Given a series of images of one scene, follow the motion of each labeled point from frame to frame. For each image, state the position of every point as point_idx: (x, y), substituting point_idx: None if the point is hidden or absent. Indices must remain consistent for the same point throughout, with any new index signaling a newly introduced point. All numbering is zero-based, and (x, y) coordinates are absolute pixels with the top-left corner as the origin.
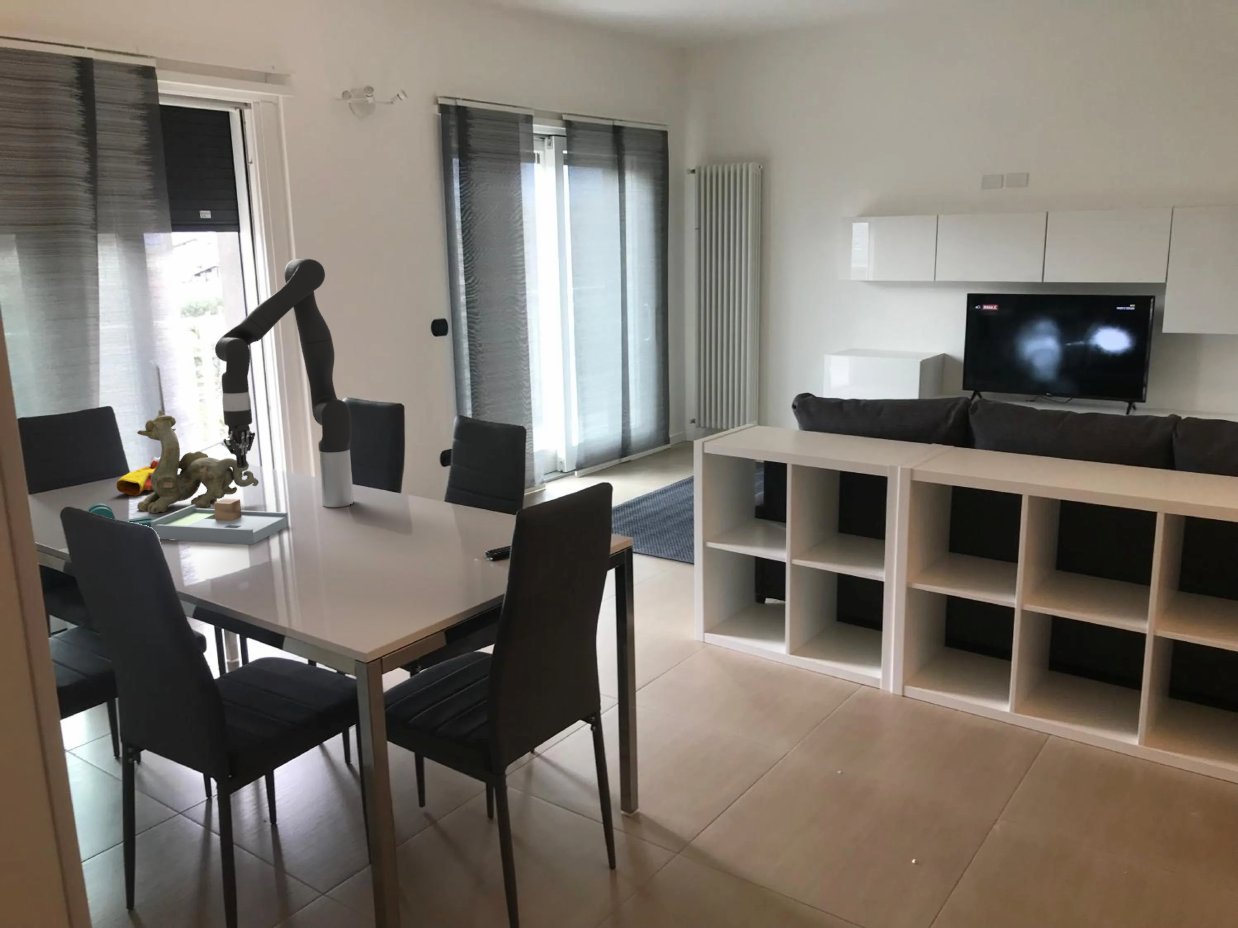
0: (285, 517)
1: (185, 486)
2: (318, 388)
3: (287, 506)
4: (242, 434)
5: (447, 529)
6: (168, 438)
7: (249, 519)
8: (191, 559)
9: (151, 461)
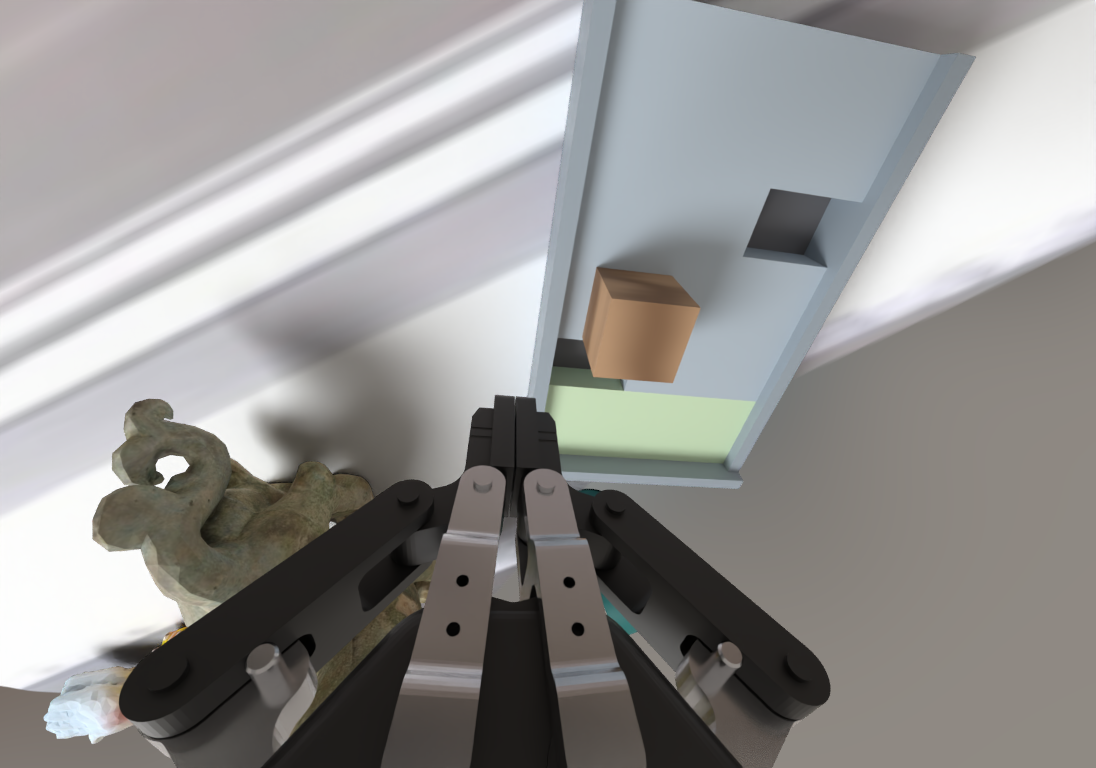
0: None
1: None
2: None
3: (203, 192)
4: (621, 742)
5: None
6: None
7: (656, 202)
8: (1019, 238)
9: (126, 727)
